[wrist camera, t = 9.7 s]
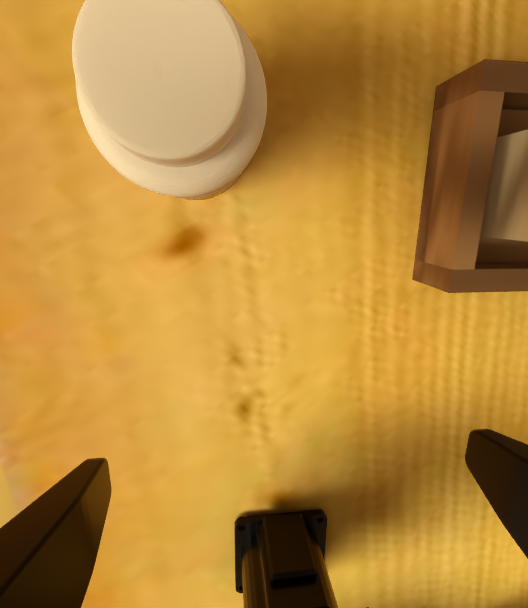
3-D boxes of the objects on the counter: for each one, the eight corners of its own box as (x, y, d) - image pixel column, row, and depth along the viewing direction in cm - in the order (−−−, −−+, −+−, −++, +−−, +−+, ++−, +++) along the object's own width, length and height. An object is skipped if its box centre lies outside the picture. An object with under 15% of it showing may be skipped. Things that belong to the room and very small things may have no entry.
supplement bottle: (128, 83, 17) (-1, -96, 7) (244, 81, 17) (277, -85, 7) (145, 204, 18) (59, 199, 8) (251, 198, 19) (286, 188, 9)
